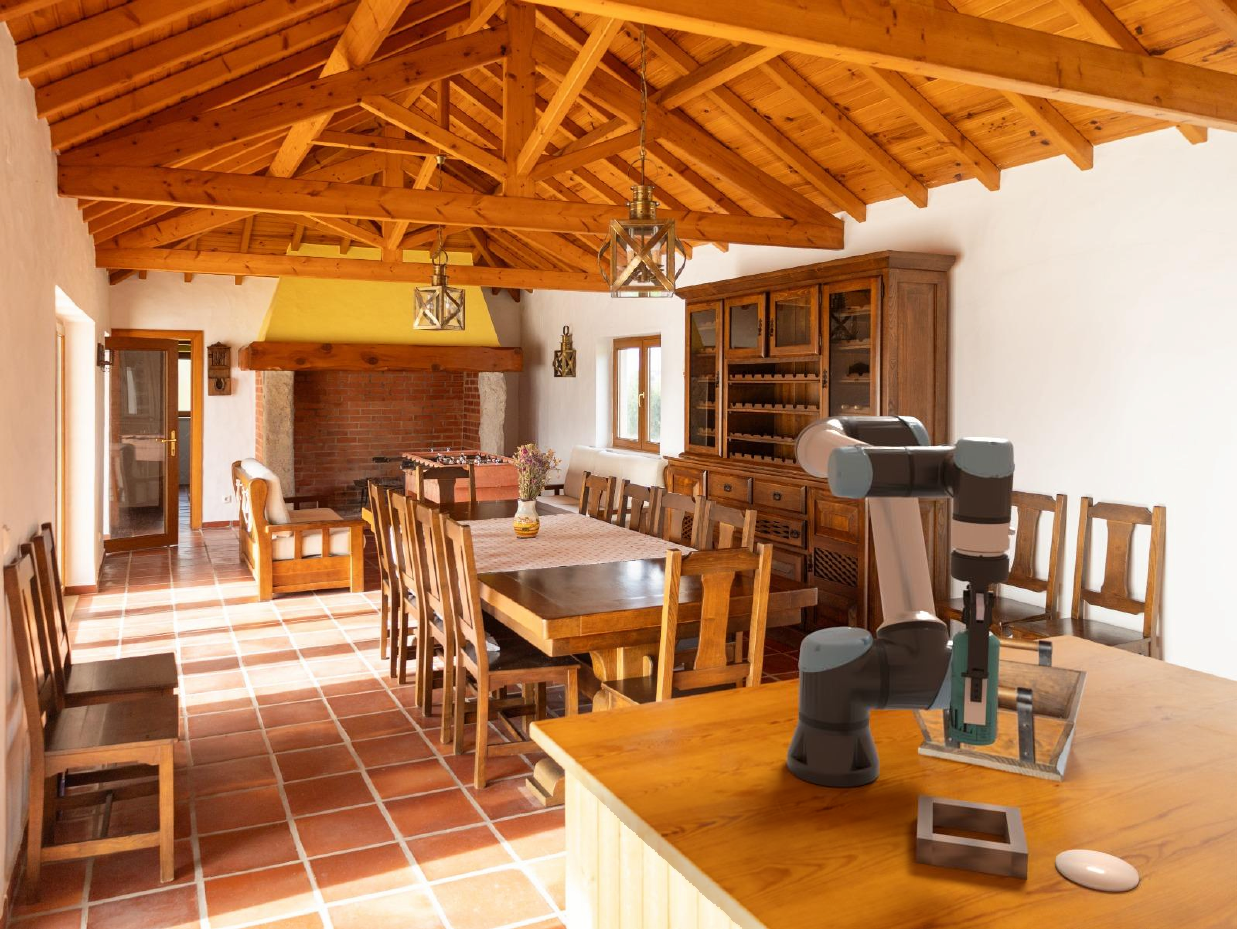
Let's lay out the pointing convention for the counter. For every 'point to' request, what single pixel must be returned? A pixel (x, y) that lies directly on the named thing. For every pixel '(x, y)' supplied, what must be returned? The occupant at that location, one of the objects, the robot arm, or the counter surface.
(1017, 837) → the holder
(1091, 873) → the coaster
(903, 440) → the robot arm
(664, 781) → the counter surface
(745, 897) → the counter surface
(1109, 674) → the counter surface
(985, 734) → the beverage bottle
